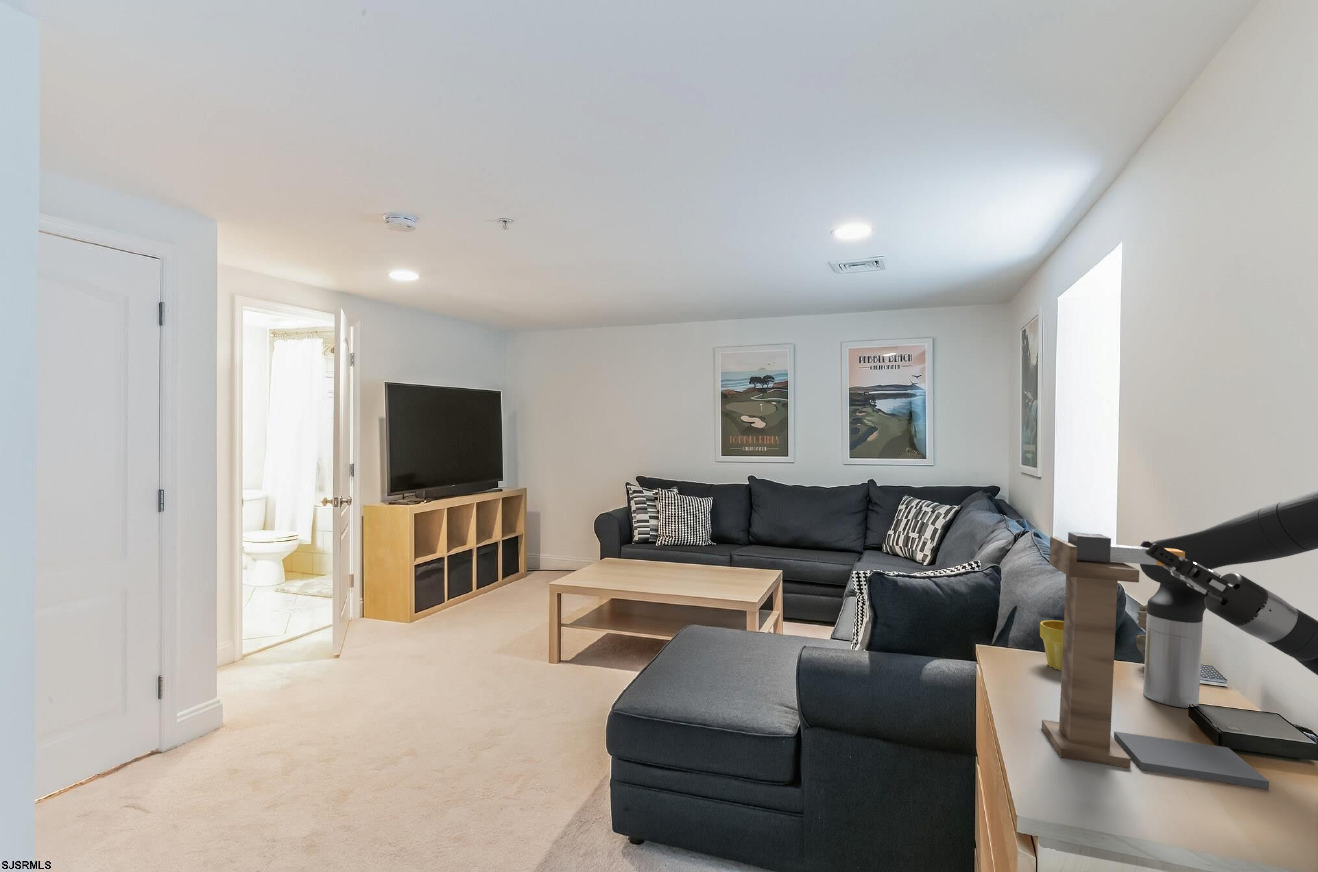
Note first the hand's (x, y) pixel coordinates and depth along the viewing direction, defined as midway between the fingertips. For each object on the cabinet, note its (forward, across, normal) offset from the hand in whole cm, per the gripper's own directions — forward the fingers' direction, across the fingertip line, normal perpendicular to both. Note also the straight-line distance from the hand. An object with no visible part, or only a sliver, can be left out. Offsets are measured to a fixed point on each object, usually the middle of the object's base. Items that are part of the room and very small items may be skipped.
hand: (1146, 547), depth 115 cm
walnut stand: (-11, 0, +34) cm, 36 cm away
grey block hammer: (+1, 0, +4) cm, 4 cm away
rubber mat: (-24, 0, +27) cm, 36 cm away
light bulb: (-36, -54, +20) cm, 68 cm away
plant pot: (-19, -46, +30) cm, 58 cm away
